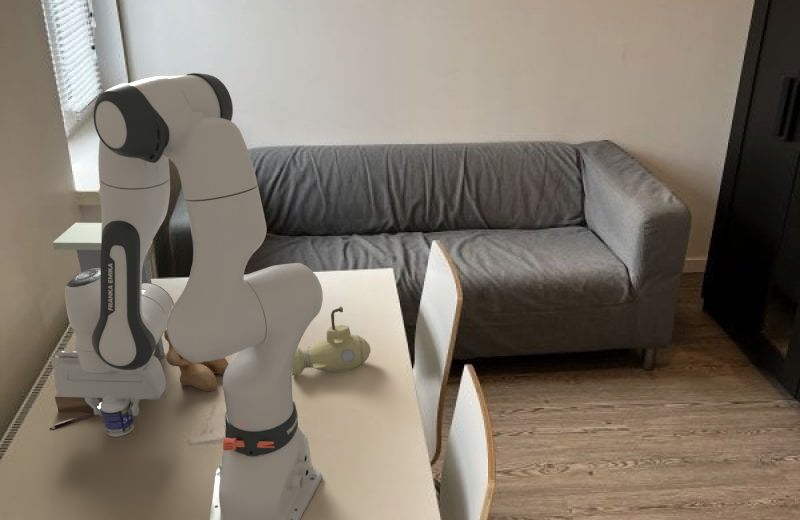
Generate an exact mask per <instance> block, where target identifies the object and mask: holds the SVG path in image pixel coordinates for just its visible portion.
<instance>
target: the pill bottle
mask: <svg viewBox="0 0 800 520" xmlns="http://www.w3.org/2000/svg"><path fill="white" fill-rule="evenodd" d="M102 399H103V401H102V402H101V406H100V407H101V412H102V415H101V416H102V419H103V424H104V429H105V433H106V434H107V435H108V436H110V437H114V438H116V437H117V438H118V437H123V436H125V435H128V434H129V433H131V432H132V431H133V430H134V428H135V421H134V416H128V412H127V408H128V407H129V405H130V401H129V399H120V398H113V397H104V398H102Z"/></svg>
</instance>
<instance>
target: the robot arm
mask: <svg viewBox="0 0 800 520" xmlns="http://www.w3.org/2000/svg"><path fill="white" fill-rule="evenodd" d="M93 107H94V108H93V124H94V128H95V130H96V133H97V136H98V138H99V144H98V159H97V160H98V163H97V165H98V168H97V169H98V179H99V181H98V182H99V193H100V195H99V196H100V197H99V198H100V212H101V213H100V214H101V217H100V218H101V223H102V226H101V268H93V269H89V270H86V271H83V272H81V271H80V272H79V273H77V274H76V275H75V276H73V277H72V278H71V279H70V280H69V281H68V282H67V284H66V285H65V291H64V298H65V307H66V313H67V317H68V322H69V325H70V327H71V328H72V331H73V332H74V339H73V340H74V341H73V342H74V347H75V351H73V350H72V351H66V350H58V351H57V352H56V353H54V354H52V356H51V359H50V361H51V366H52V369H54V384H55V385H54V386H55V390H56V394H57V393H58V394H59V395H60V396H62V397H81V398H85V401H86V402H87V403H88V404H89V405H90V406H91V407H92V408H93V410H94V412H93V413H94V414H95V416H102V412H101V407H100V406H101V403H100V402H99V400H98V399H97V398H104V397H113V398H120V399H130V400H131V402H133V403H132V404H130V405H129V407H128V408H127V412H128V416H133V417H136V416H138V414H139V413H140V408H139V404H140V401H141V400H158V399H160V398H161V396H162V395H163V394H164V392H165V390H166V387H167V381H166V377H165V373H164V369H163V366H162V363H161V362H160V360H159V358H156V357H155V356H153V355H154V353H155V347H156V345H157V343H158V342H159V340H160V338H161V337H163V336H164V332H165V330H166V329H167V334H168V338H169V341H170V343H171V345H172V346H173V348H174V349H175V351H176V352H177V353H178V354H179V355H180V356H182V357H183V358H184V359H186V360H188V361H190V362H192V363H199V362H205V361H211V360H216V359H221V358H227V357H230V356H232V355H235V354H236V355H235V356H234V357H233V358H232V359H231V360H230V361H229V362H228V366H227V368H226V369H225V372H224V375H222V389H223V396H224V403H225V409H226V412H225V415H224V434H223V435H222V437H223V441H222V443H223V444H222V456H221V463H220V464H219V466H218V468H217V469H216V470H215V475H214V476H215V477H214V482H213V487H212V488H213V490H212V495H211V501H210V502H211V503H210V508H209V509H210V510H209V516H208V520H301V518H302V516H303V514H304V513H305V511H306V509H307V507H308V505H309V503H310V502H311V500H312V497H313V496H314V494H315V492H316V490H317V489H318V487H319V485H320V482H321V481H322V478H323V475H322V471H321V470H320V469H319V468H317V467H316V466H314V465H313V462H312V456H311V450H310V449H311V448H310V445H309V439H308V436H307V435H306V434H304V433H303V432H302V430H301V429H300V427H298V425H299V422H298V420H299V419H298V418H299V416H298V410H297V408H296V407H297V406H296V404H295V402H294V400H293V399H294V398H293V388H292V387H293V384H292V383H293V380H292V373H291V372H292V364H293V360H294V356H295V353H296V350H297V347H298V348H299V344H300V342H301V340H302V338H303V335H304V334H305V332H306V330H307V329H308V327H309V326H310V324H311V323H312V321H314V320H315V318H317V316H318V315H319V314H320V312H321V310H322V309H321V308H322V307H323V301H324V298H323V297H324V296H323V293H324V291H323V288H322V285H321V284H322V283H321V282H320V280H319V278H318V276H317V274H315V272H313V270H311V269H310V268H309V267H308V266H307V265H306V264H305V265H304V264H303V263H301V262H294V263H293V262H292V263H284V264H283V263H282V264H275V265H271V266H268V267H265V268H262V269H259V270H257V271H253V272H251V273H247V274H245V271H246V266H247V265H248V262H249V260H250V259H251V257H252V256H253V254H254V253H255V252H256V251H257V250H258V249H259V248H260V247H261V246H262V244H263V243H264V240H265V238H266V234H267V229H268V228H267V221H266V218H265V213H264V208H263V203H262V199H261V194H260V189H259V184H258V179H257V176H256V172H255V167H254V165H253V161H252V158H251V155H250V153H249V150H248V147H247V144H246V141H245V139H244V137H243V135H242V133H241V130H240V128H239V127H238V125H236V124H235V122H232V119H233V114H234V107H233V100H232V97H231V95H230V92H229V90H228V88H227V87H226V85H225V84H224V83H223V82H222V81H221V79H219V78H218V77H216V76H214V75H212V74H208V73H207V74H206V73H200V72H192V73H187V74H181V75H178V74H175V75H169V76H168V75H167V76H162V75H161V76H160V75H157V76H152V77H147V78H143V79H140V80H139V79H138V80H136V81H133V82H130V83H129V82H128V83H120V84H117V85H115V86H112V87H110V88H108V89H106V90H105V91H102V92H101V93H100V94H99V96H98V97H97V98H96V100H95V103H94V106H93ZM169 161H171V162H172V163H173V164H174V165H175V167H176V169H177V173H178V175H179V180H180V183H181V184H180V185H181V189H182V193H183V199H184V203H185V206H186V207H185V208H186V211H187V217H188V222H189V226H190V232H191V233H190V234H191V239H192V249H193V252H192V253H193V256H192V265H191V268H190V272H189V273H190V274H189V277H188V279H187V282H186V284H185V286H184V289H183V290H182V293H181V294H180V295H179V297H178V298H177V300H176V301H175V302H174V301H173V298H172V297H171V295H170V293H168V291H167V290H166V289H165V288H162V287H161V286H159V285H157V284H154V283H152V282H151V283H152V284H151V283H142V268H143V263H144V259H145V256H146V255H147V252H148V250H149V248H150V245H151V243H152V242H153V240H154V238H155V237H156V234H157V233H158V231H159V229H160V227H161V226H162V225H163V222H164V221H165V219H166V216H167V214H168V209H169V203H170V196H171V173H170V172H171V171H170V162H169Z"/></svg>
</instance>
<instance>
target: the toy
mask: <svg viewBox="0 0 800 520" xmlns="http://www.w3.org/2000/svg"><path fill="white" fill-rule="evenodd" d="M337 312H339V313H343V312H344V309H343V306H340V307H339V308H335V309H333V310H332V311H331V313H330V319H331V326H329V328H328V329H327V331H326V338H325V339H323V340H320V341H319V342H316V343H314V345H312V346H308V347H307V348H306V349H303V350H302V349H301V348H299V346H298V347H297V350H296V353H295V356H294V360H293V364H292V372H291V376H297V375H301V374H302V373H303V371H304V370H305V369H308V368H309V369H312V368H313V369H315V370H318V371H321V372H322V371H323V372H328V373H343V372H346V371H351V370H354V369H357V368H359V367H360V366H363V365H364V363H366V361H367V360H368V358H369V356H370V355H371V346H370V344H369V343H368V341H367V340H366V339H365V338H363V337H361V336H360V335H358V334H356V335H355V334H352V333H351V330H350V327H349V325H345V324H344V325H343V324H339V325H335V324H336V323H335V313H337Z"/></svg>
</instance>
